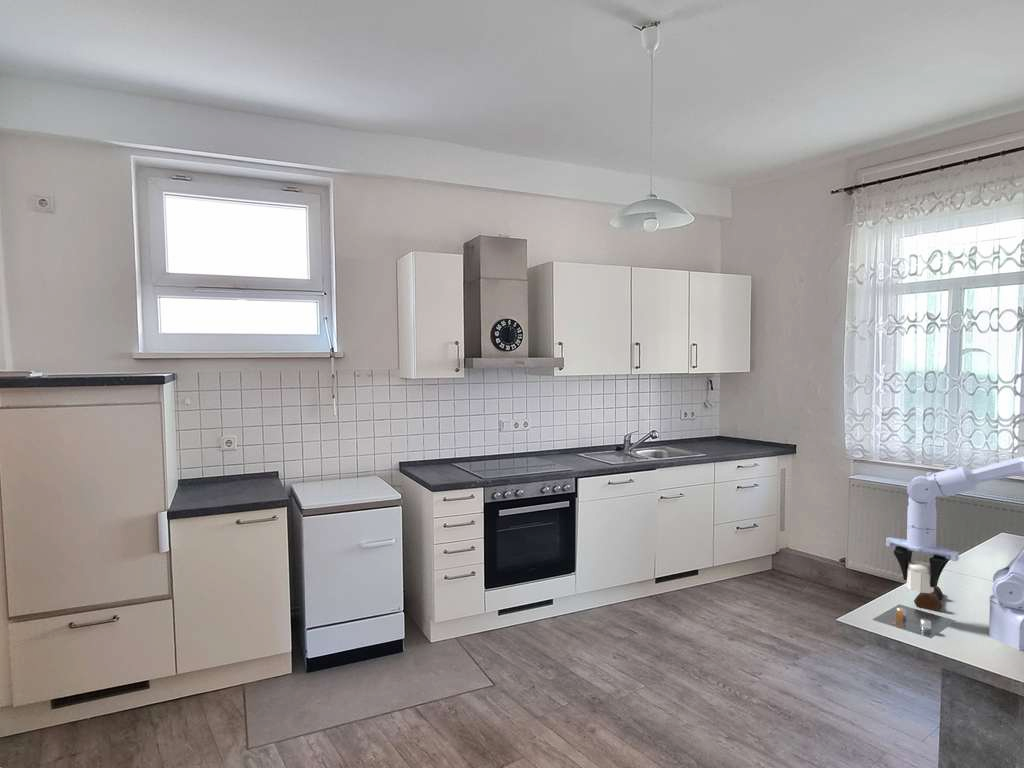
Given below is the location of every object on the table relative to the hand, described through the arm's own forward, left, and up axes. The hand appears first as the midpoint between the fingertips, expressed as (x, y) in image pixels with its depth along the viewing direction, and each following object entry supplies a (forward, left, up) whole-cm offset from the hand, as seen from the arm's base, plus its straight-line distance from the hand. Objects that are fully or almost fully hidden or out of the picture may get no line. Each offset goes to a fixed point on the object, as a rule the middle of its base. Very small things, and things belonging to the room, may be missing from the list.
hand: (920, 582), depth 140 cm
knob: (0, 0, -2) cm, 2 cm away
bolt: (+10, -11, -10) cm, 18 cm away
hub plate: (-1, +2, -10) cm, 10 cm away
